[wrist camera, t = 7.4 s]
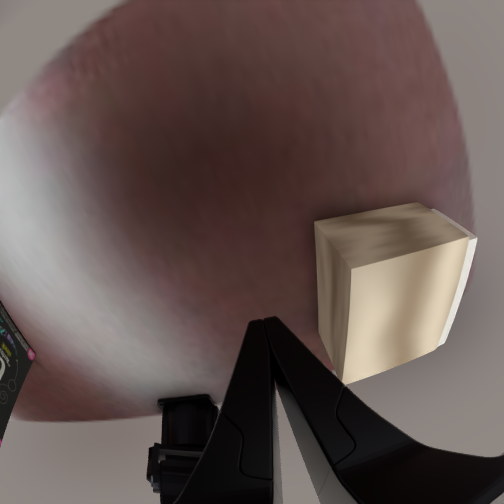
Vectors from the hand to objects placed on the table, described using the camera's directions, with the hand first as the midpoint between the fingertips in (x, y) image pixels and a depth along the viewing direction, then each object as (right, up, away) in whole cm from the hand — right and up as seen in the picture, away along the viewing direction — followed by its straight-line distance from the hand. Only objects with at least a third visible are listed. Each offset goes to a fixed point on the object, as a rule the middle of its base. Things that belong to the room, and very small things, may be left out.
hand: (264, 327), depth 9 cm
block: (+10, +1, +16) cm, 19 cm away
